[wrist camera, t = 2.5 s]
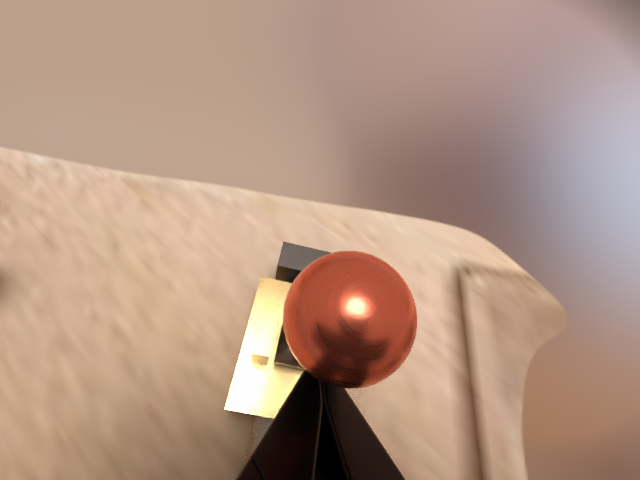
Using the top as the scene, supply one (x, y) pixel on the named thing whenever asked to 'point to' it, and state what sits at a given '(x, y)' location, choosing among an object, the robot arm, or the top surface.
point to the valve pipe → (267, 347)
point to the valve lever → (347, 320)
